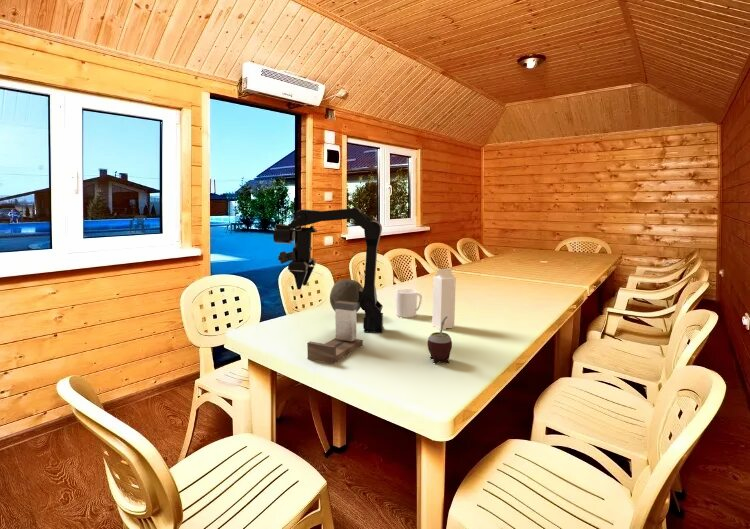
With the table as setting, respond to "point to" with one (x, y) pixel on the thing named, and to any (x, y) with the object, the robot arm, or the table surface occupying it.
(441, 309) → the milk
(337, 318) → the fader tab
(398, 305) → the mug
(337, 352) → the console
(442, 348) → the mate gourd
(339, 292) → the dark rounded lump
